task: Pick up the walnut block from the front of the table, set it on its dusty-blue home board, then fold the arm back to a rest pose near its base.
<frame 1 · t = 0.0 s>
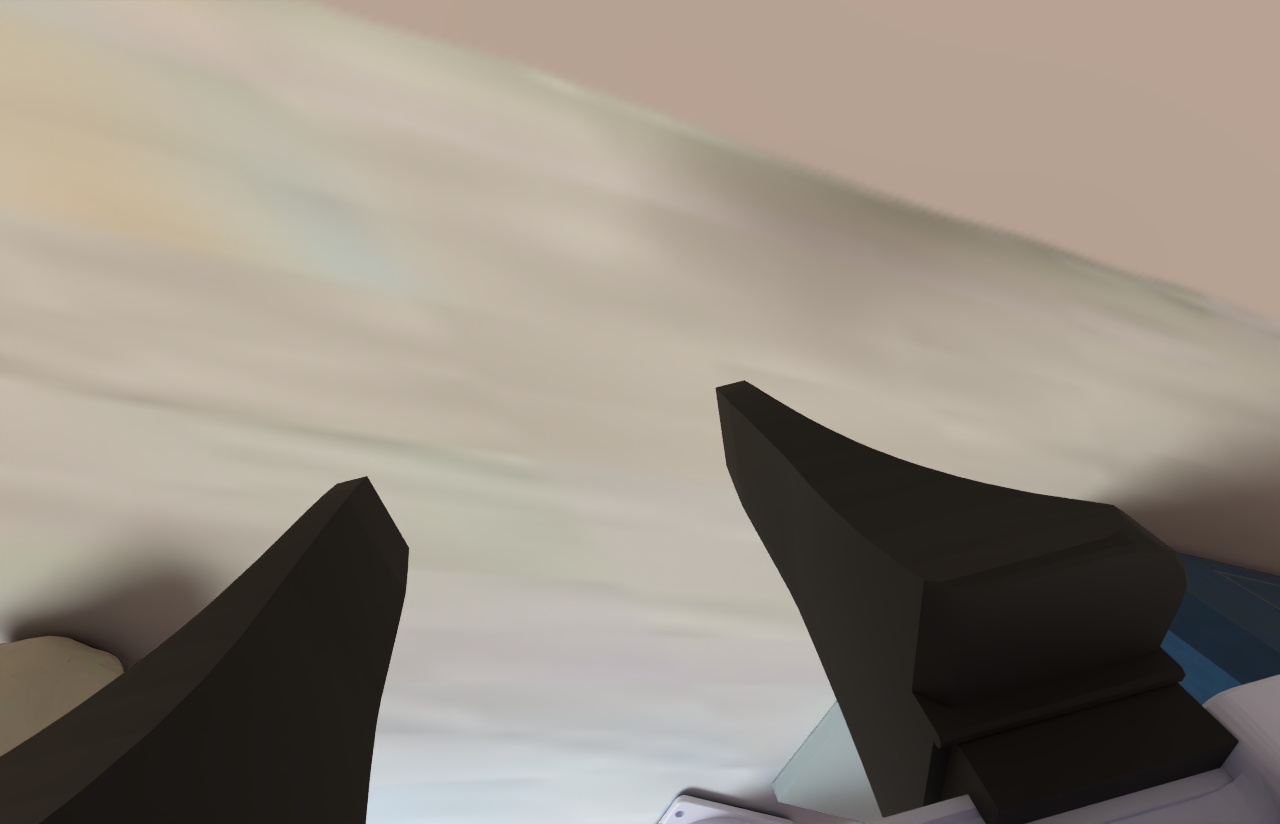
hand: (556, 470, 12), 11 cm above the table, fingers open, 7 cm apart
ceramic sculpture: (81, 726, 26), on the table
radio: (1146, 611, 31), on the table
home board: (927, 739, 33), on the table
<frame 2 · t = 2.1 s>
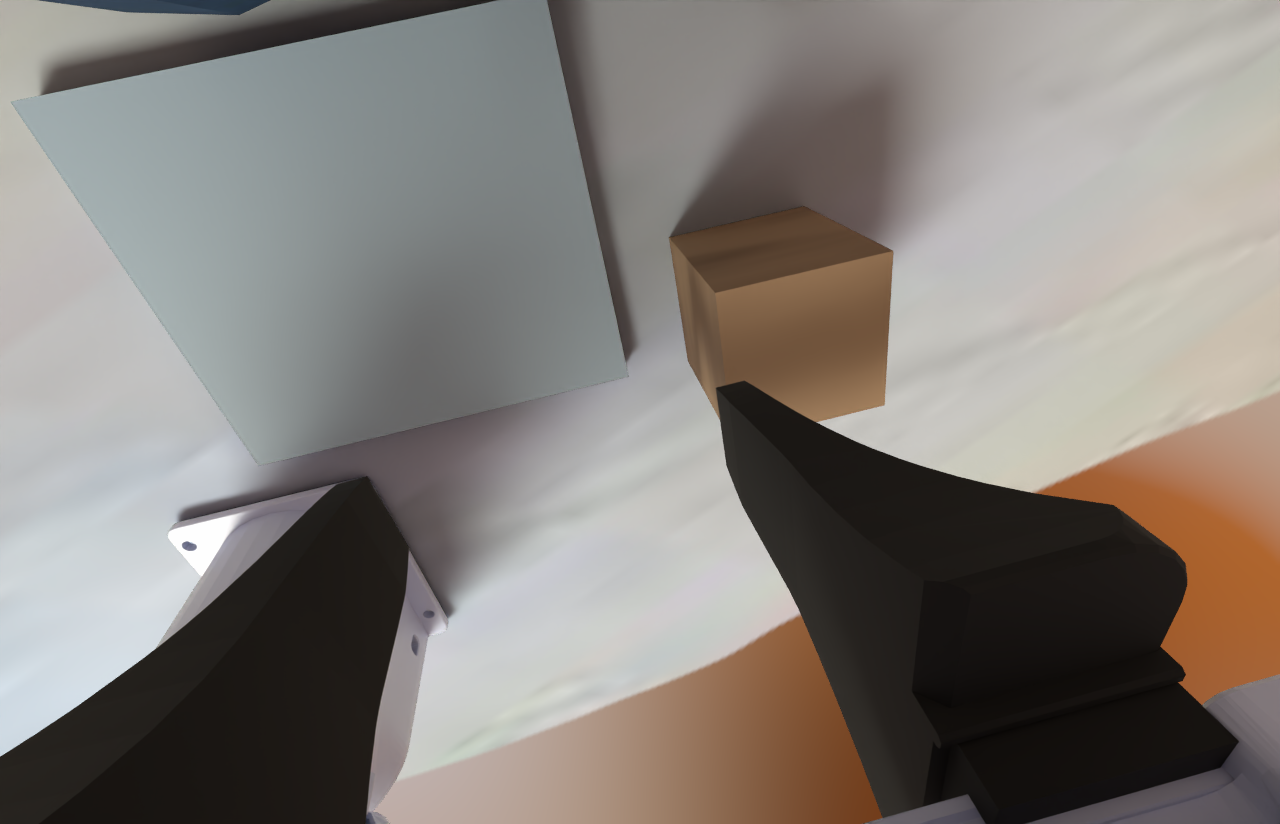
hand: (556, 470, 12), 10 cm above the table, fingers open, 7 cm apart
walnut block: (742, 287, 22), on the table
home board: (385, 256, 19), on the table
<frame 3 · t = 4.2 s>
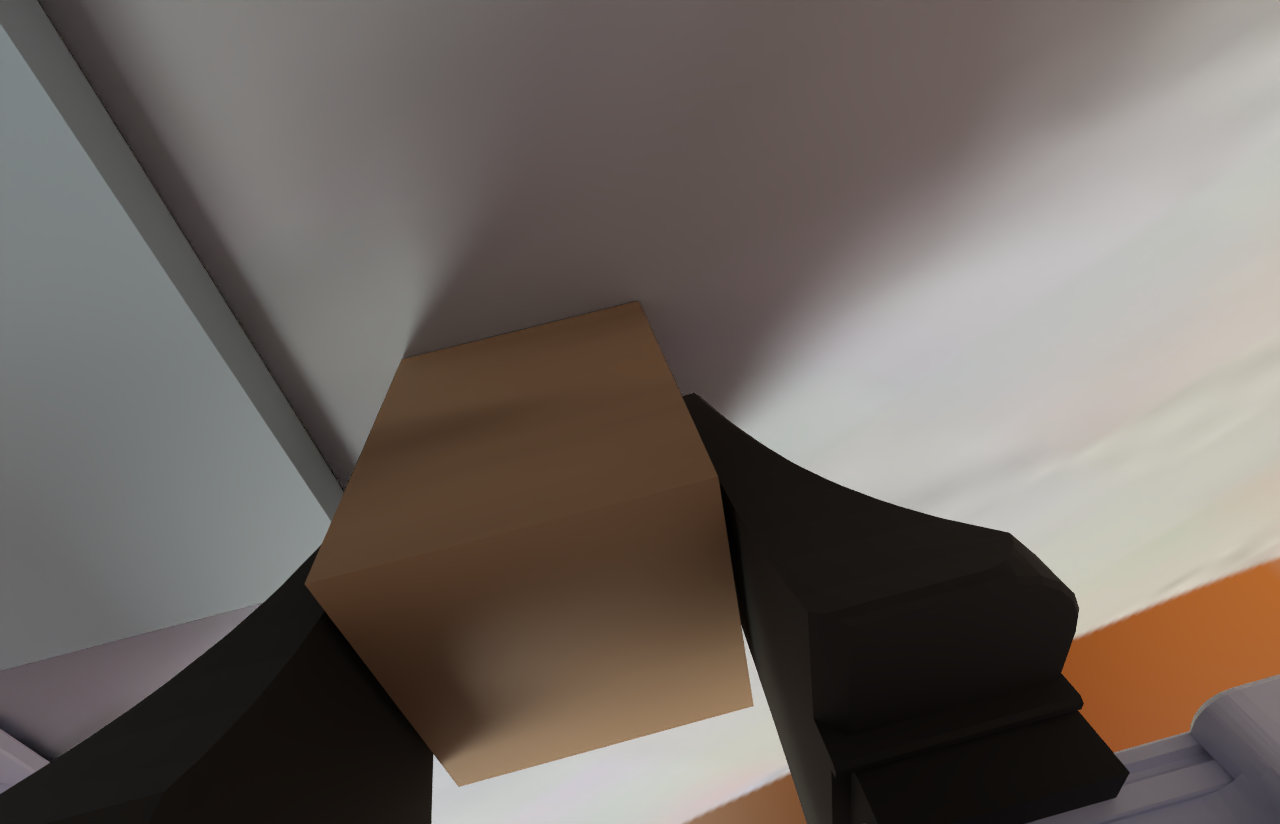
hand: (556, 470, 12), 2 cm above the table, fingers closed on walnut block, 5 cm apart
walnut block: (553, 427, 13), on the table, touching gripper
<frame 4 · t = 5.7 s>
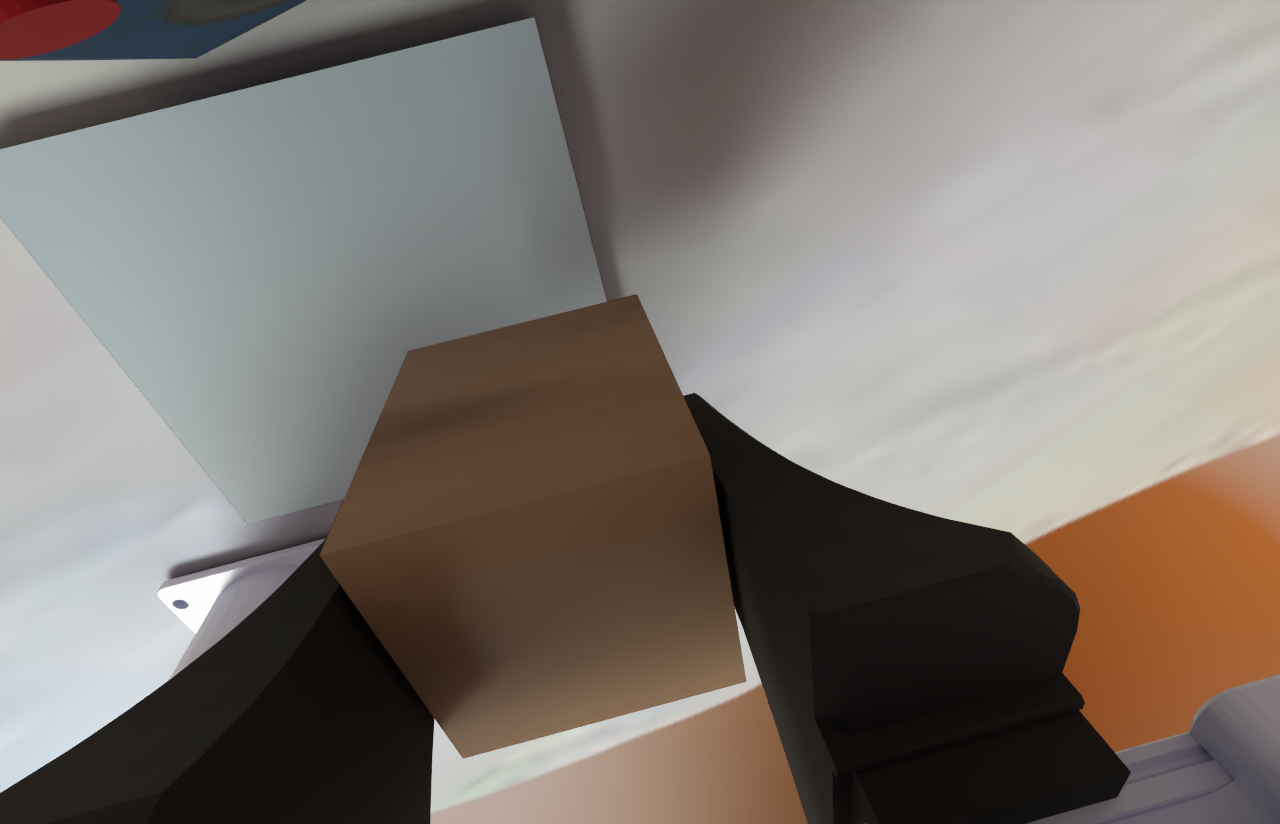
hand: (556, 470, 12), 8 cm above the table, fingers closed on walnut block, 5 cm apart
walnut block: (554, 418, 14), point 6 cm above the table, touching gripper
home board: (372, 304, 18), on the table
when the fingers open (4 cm above the table, at t = 7.4 s): walnut block stays where it is, resting on home board.
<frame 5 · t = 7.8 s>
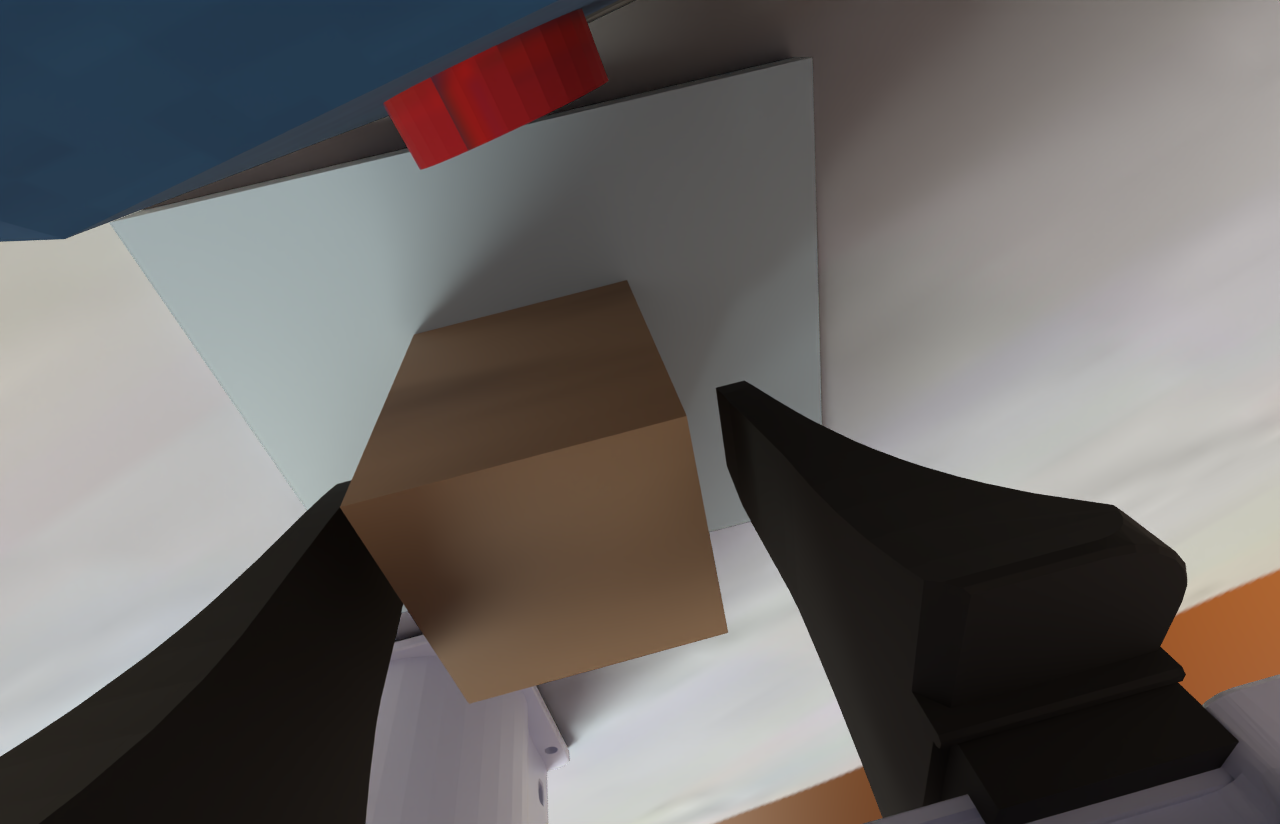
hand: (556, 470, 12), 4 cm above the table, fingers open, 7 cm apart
walnut block: (551, 398, 14), point 1 cm above the table, touching home board
home board: (550, 377, 15), on the table
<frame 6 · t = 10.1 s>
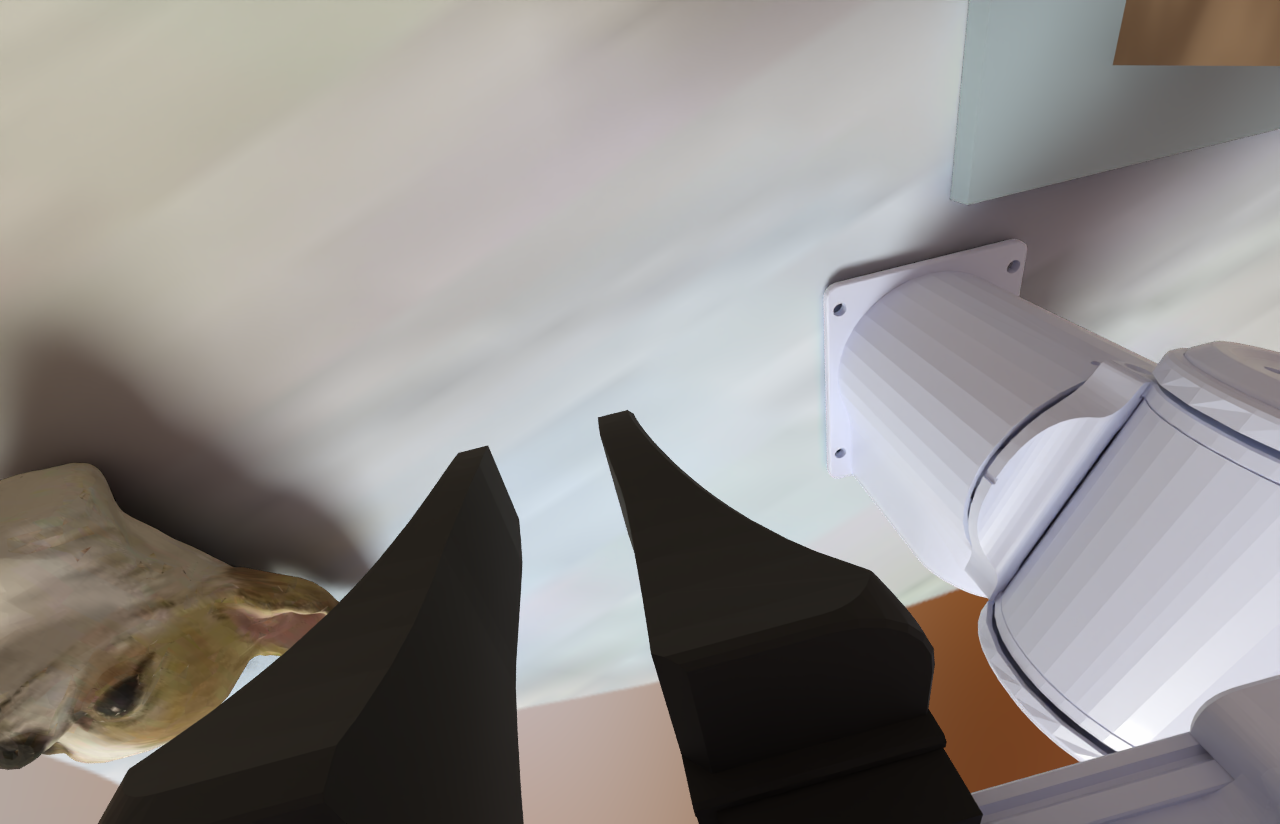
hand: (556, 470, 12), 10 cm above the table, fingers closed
ceramic sculpture: (174, 556, 24), on the table
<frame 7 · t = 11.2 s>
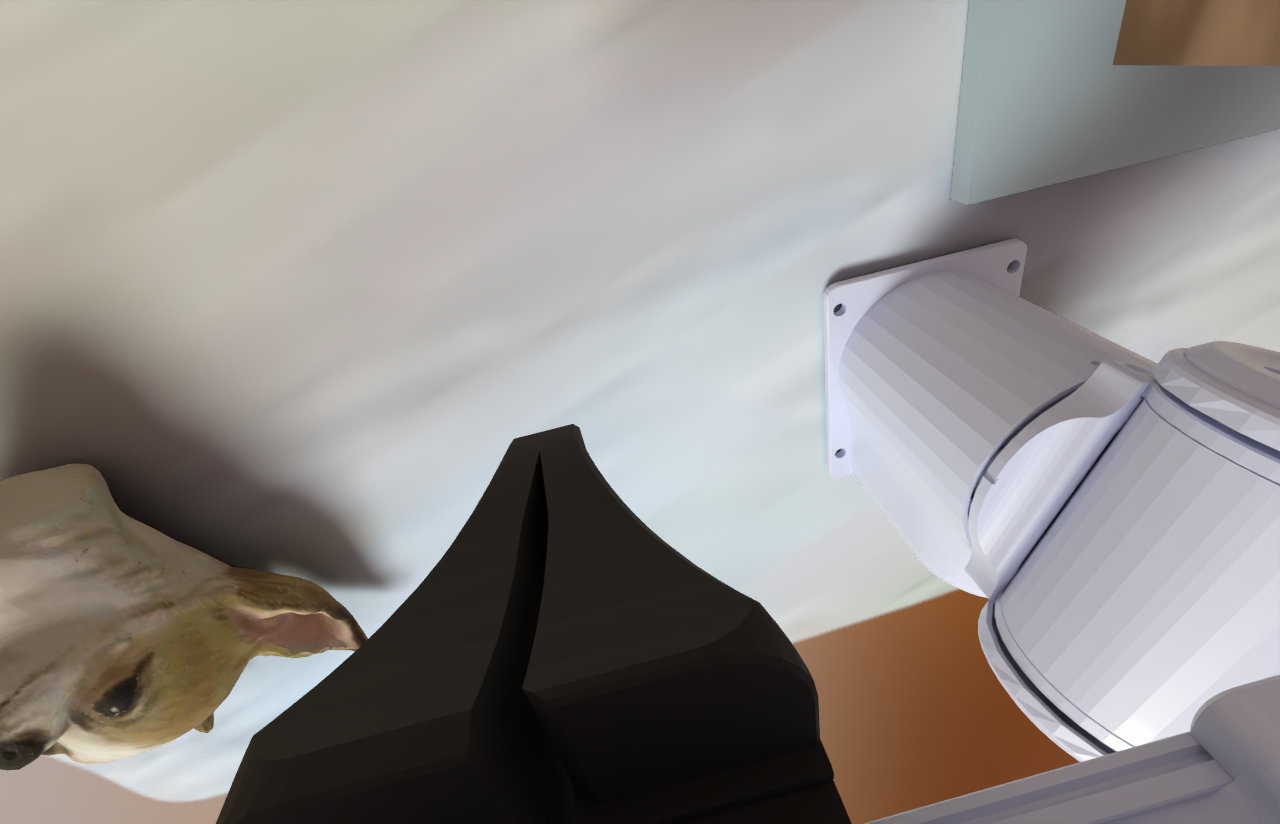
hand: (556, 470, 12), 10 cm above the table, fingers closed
ceramic sculpture: (174, 556, 24), on the table
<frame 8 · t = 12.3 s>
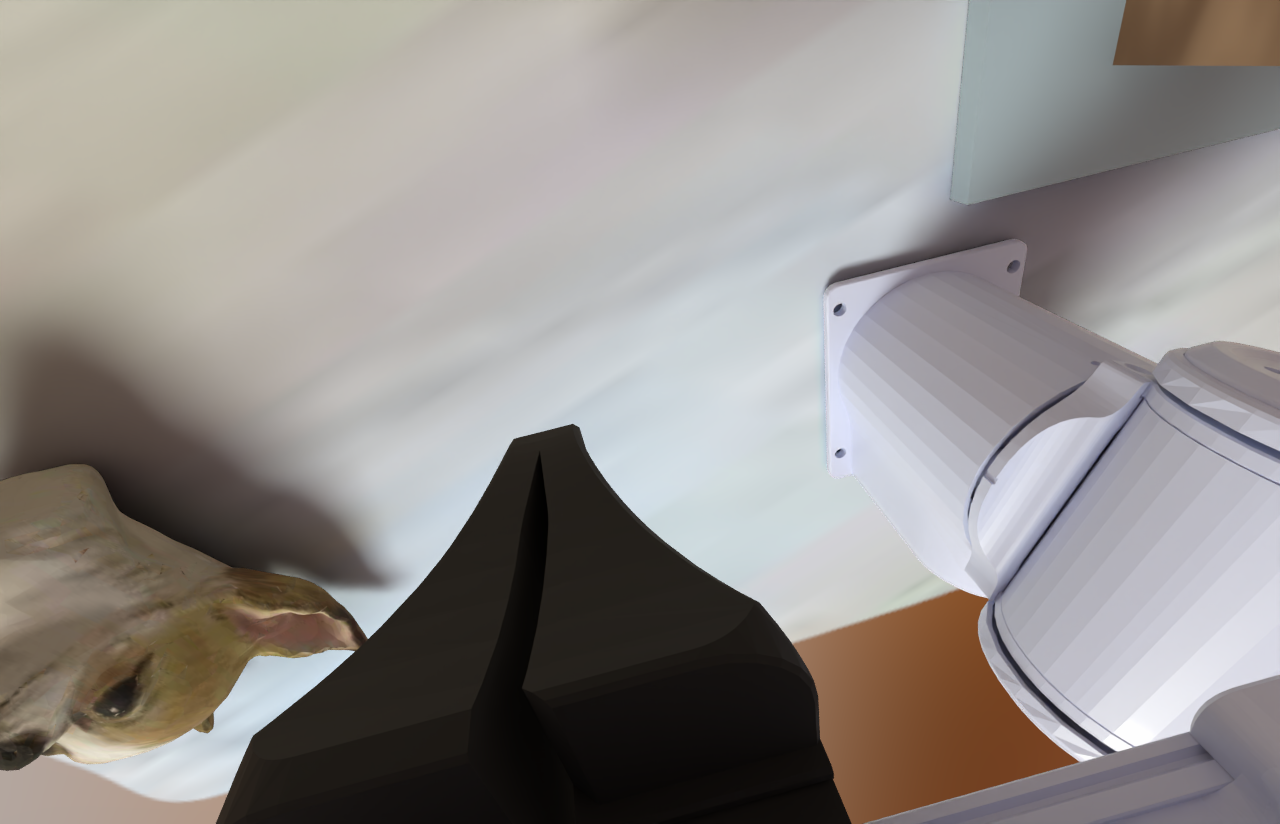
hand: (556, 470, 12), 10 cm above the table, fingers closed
ceramic sculpture: (173, 557, 24), on the table
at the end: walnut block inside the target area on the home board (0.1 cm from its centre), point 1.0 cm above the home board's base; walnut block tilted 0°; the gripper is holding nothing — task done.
